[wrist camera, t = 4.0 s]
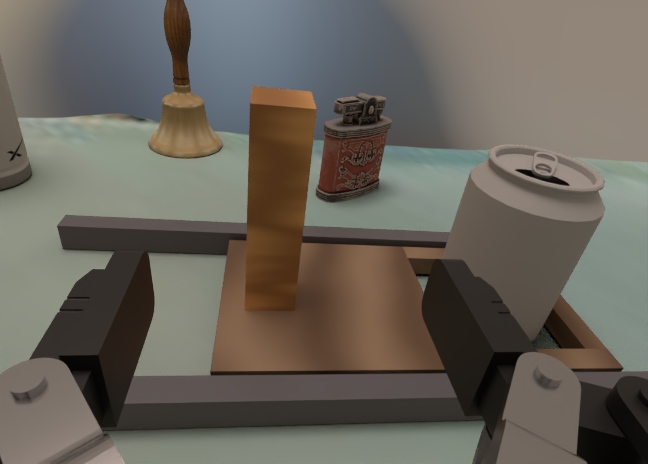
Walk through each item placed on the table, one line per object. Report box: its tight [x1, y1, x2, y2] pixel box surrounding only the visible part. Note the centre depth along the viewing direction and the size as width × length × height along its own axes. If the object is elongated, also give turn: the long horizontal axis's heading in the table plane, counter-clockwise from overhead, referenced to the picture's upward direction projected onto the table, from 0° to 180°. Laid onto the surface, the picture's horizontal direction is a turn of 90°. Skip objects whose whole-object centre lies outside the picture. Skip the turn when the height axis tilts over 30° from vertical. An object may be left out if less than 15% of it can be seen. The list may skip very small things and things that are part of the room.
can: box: [442, 144, 605, 342], centre depth 27 cm, size 8×8×12 cm
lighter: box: [316, 93, 392, 202], centre depth 42 cm, size 8×3×10 cm, turn 130°
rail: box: [57, 215, 648, 430], centre depth 28 cm, size 38×16×2 cm, turn 96°
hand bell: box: [149, 0, 222, 158], centre depth 46 cm, size 8×8×16 cm
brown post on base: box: [211, 86, 623, 376], centre depth 25 cm, size 24×12×14 cm, turn 96°
